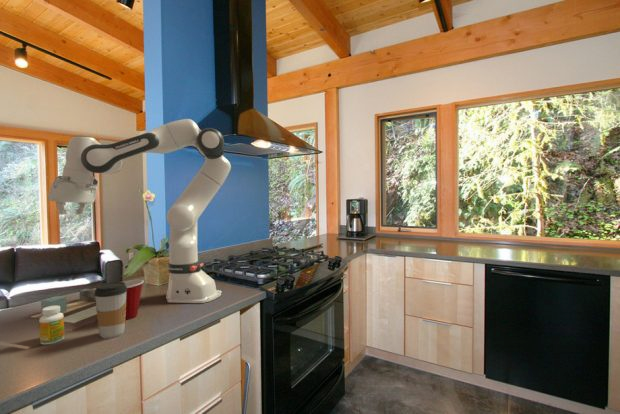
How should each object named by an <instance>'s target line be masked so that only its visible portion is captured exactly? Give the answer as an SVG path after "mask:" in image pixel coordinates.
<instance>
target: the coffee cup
mask: <svg viewBox="0 0 620 414" xmlns="http://www.w3.org/2000/svg"><path fill="white" fill-rule="evenodd" d="M94 290H95V297H96V302H95V306H96V310H97V314H96V316H97V317H96V318H97V327H98V332H99V333H98V334H99V336H100V338H102V339H113V338H116V337H119V336H121V335H122V334H123V333H124V331H125V327H126V326H125V325H126V320H125V317H126V291H127V286H125V283H124V281H112V282H104V283H101V284H99V285H97V286H96V287H95V289H94Z"/></svg>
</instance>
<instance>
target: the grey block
mask: <svg viewBox="0 0 620 414" xmlns="http://www.w3.org/2000/svg"><path fill="white" fill-rule="evenodd" d="M95 315H96V316H97V310H96V305H94V306H92V307H89V308H86V309H84V310H81V311H78V312H75V313H73V314H70V315H67V316H64V323H70V324H76V323H78V322H80V321H83V320H86V319H89V318H91V317H93V316H95Z"/></svg>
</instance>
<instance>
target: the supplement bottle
mask: <svg viewBox="0 0 620 414" xmlns="http://www.w3.org/2000/svg"><path fill="white" fill-rule="evenodd" d="M42 314H43V316H42V317H41V318H39V320H38V321H39V322H38V323H39V343H40V344H41V345H44V346H46V345H52V344H57V343H59V342H61V341H62V340H64V339H65V322H64V317H65V316H64V314H62V313H60V306H49V307H46V308H43V309H42Z"/></svg>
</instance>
